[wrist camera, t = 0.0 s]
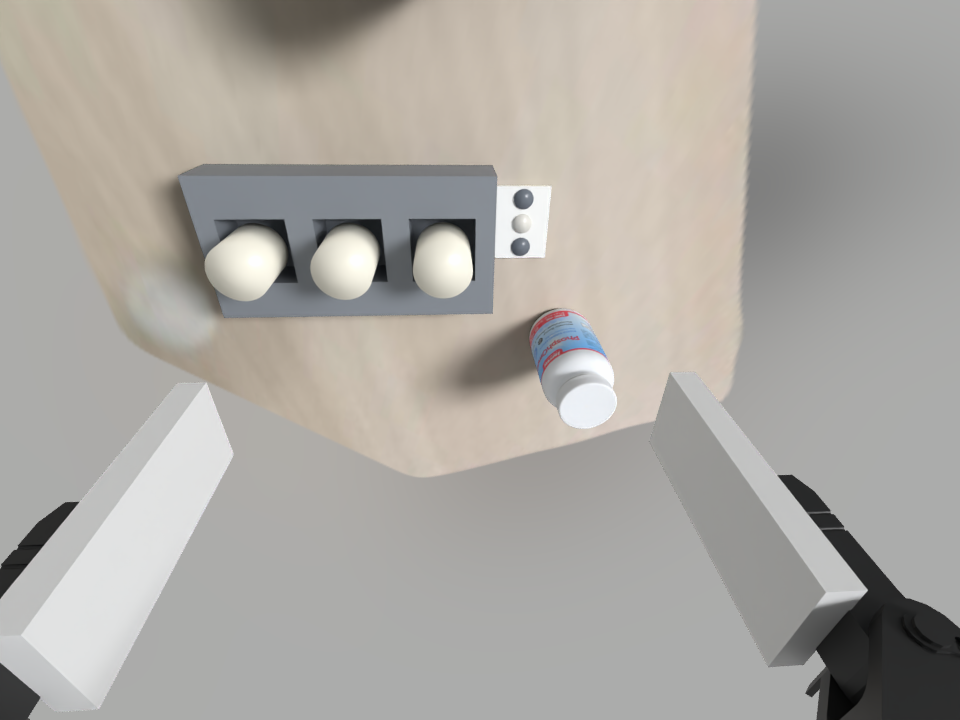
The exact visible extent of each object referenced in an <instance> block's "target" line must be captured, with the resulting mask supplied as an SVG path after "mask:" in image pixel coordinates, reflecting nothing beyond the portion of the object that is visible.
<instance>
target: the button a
mask: <svg viewBox="0 0 960 720" xmlns="http://www.w3.org/2000/svg"><path fill="white" fill-rule="evenodd" d="M287 262H288V249H287V246H286V243H285V242H284V240H283V239H282V237H281V236H280V235H279V234H278V233H277V232H276V231H275V230H273V229H272V228H270V227H268V226H266V225H263V224H259V223H247V224H244V225H241V226H240V227H238V228H237V229H236V230H235V231H233V232H232V233H231V234H230V235H228V236H227V237H226V238H225V239H224V240H222V241H221V242H220V243H219V244H218V245H216V246H215V247H214V248H213V249H212V250H211V251H210V252H209V253H208V254H207V256H206V259H205V272H206V275H207V278H208V279H209V281H210V283H211V284H212V285H213V286H214V287H215V288H216V289H217V290H218V291H219V292H220V293H222V294H223V295H225V296H227V297H229V298H231V299H234V300H238V301H252V300H256V299H258V298H260V297H261V296H263V295H264V294H265V293H266V291H267V290H268V289H269V287H270V286H271V285H272V283H273V282H274V281H275V280H276V278H277V277H278V276H279V274H280V273H281V272H282V270H283V269H284V268H285V266H286V264H287Z"/></svg>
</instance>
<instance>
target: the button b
mask: <svg viewBox="0 0 960 720" xmlns="http://www.w3.org/2000/svg"><path fill="white" fill-rule="evenodd" d="M379 258H380V246H379V243H378V241H377V239H376V237H375V236H374V234H373V233H372V232H371V231H370V230H368V229H367V228H366V227H364V226H362V225H360V224H356V223H342V224H339V225H337V226H335V227H334V228H332V229H331V230H330V231H329V233H328V234H327V236H326V237H325V239H324V240H323V242H322V243H321V245H320V246H319V248H318V249H317V251H316V252H315V254H314V256H313V257H312V260H311V265H310V270H311V275H312V278H313V280H314V282H315V284H316V285H317V286H318V288H319V289H320V290H322V291H323V292H324V293H325V294H327V295H329V296H331V297H333V298H336V299H341V300H350V299H355V298H358V297H360V296H361V295H363V294H364V293H365V292H366V291H367V290H368V289H369V287H370V285H371V283H372V280H373V276H374V273H375V270H376V267H377V264H378V261H379Z"/></svg>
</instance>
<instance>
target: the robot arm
mask: <svg viewBox="0 0 960 720" xmlns="http://www.w3.org/2000/svg"><path fill="white" fill-rule="evenodd" d="M649 442H650V444H651V446H652V448H653V450H654V452H655V454H656V456H657V458H658V459H659V461H660V463H661V465H662V467H663V469H664V471H665V473H666V475H667V476H668V478H669V480H670V482H671V484H672V486H673V488H674V490H675V492H676V494H677V495H678V497H679V499H680V501H681V503H682V505H683V507H684V509H685V511H686V512H687V514H688V516H689V518H690V520H691V522H692V524H693V526H694V527H695V529H696V531H697V533H698V535H699V537H700V539H701V541H702V542H703V544H704V546H705V548H706V550H707V552H708V554H709V556H710V558H711V560H712V562H713V564H714V565H715V567H716V569H717V571H718V573H719V575H720V577H721V579H722V581H723V582H724V584H725V586H726V588H727V590H728V592H729V594H730V596H731V598H732V600H733V601H734V603H735V605H736V607H737V609H738V611H739V613H740V614H741V616H742V619H743V620H744V622H745V624H746V626H747V628H748V630H749V632H750V634H751V635H752V637H753V639H754V641H755V643H756V645H757V647H758V649H759V650H760V653H761V654H762V656H763V658H764V660H765V662H766V664H767V666H768V667H776V666H792V665H804V664H805V662H806V661H807V660H808V659H809V658H810V657H811V656H812V654H813V653H814V652H815V651H816V650H817V652H818V654H819V655H820V657H821V658H822V660H823V662H824V663H825V665H826V667H825V669H824V670H823V671H822V672H821V673H820V674H819V675H818V676H817V677H816V678H815V679H814V680H813V681H812V683H811V684H810V685H809V687H808V689H807V691H806V694H807V695H809V696H811V697H812V696H813V695H814V694H815V693H816V692H817V691H818V690H819V689H820V692H819V701H818V712H817V720H960V628H959V627H958V626H956V625H955V624H954V623H953V622H952V621H950V620H949V619H948V618H947V617H946V616H945V615H943V614H941V613H940V612H938V611H936V610H935V609H933V608H931V607H929V606H928V605H926V604H923V603H920V602H917V601H914V600H912V599H906V598H905V597H904V596H903V595H902V594H901V593H900V592H899V591H898V590H897V588H896V587H895V586H894V585H893V584H892V582H891V581H890V580H889V579H888V578H887V577H886V575H885V574H884V573H883V572H882V571H881V570H880V568H879V567H878V566H877V565H876V564H875V562H874V561H873V560H872V559H871V558H870V557H869V555H868V554H867V553H866V552H865V551H864V549H863V548H862V547H861V546H860V545H859V544H858V542H857V541H856V540H855V539H854V538H853V536H852V535H851V534H850V533H849V532H848V531H845V530H844V526H843V525H842V524H841V522H840V521H839V520H838V519H837V518H836V516H835V515H834V514H831V513H830V509H829V508H828V507H827V506H826V505H825V503H824V502H823V501H822V500H821V499H820V498H819V496H818V495H817V494H816V493H815V492H814V491H813V490H812V489H810V488H809V487H808V486H806V485H805V484H803V483H802V482H801V481H800V480H798V479H797V478H795V477H794V476H793V475H776V473H775V472H774V471H773V470H772V468H771V467H770V466H769V464H768V463H767V462H766V461H765V459H764V458H763V457H762V456H761V454H760V453H759V452H758V451H757V449H756V448H755V447H754V445H753V444H752V443H751V442H750V441H749V439H748V438H747V437H746V435H745V434H744V433H743V432H742V430H741V429H740V428H739V427H738V425H737V424H736V423H735V421H734V420H733V419H732V418H731V417H730V415H729V414H728V413H727V411H726V410H725V409H724V408H723V406H722V405H721V404H720V402H719V401H718V400H717V399H716V397H715V396H714V395H713V394H712V392H711V391H710V390H709V389H708V387H707V386H706V385H705V384H704V382H703V381H702V380H701V378H700V377H699V376H698V375H697V373H696V372H670V374H669V377H668V381H667V384H666V387H665V391H664V394H663V397H662V401H661V404H660V407H659V411H658V414H657V417H656V421H655V424H654V427H653V431H652V434H651V438H650V441H649ZM233 455H234V454H233V451H232V448H231V446H230V443H229V440H228V438H227V435H226V433H225V430H224V427H223V425H222V422H221V420H220V417H219V414H218V412H217V409H216V407H215V404H214V401H213V399H212V396H211V394H210V391H209V388H208V386H207V383H206V382H199V383H198V382H197V383H196V382H194V383H177V384H176V385H175V387H174V388H173V389H172V390H171V391H170V392H169V394H168V395H167V396H166V397H165V399H164V400H163V401H162V402H161V403H160V405H159V406H158V407H157V408H156V409H155V411H154V412H153V413H152V414H151V416H150V417H149V418H148V419H147V421H146V422H145V423H144V424H143V425H142V427H141V428H140V429H139V430H138V431H137V433H136V434H135V435H134V436H133V438H132V439H131V440H130V441H129V443H128V444H127V445H126V446H125V448H124V449H123V450H122V451H121V452H120V453H119V455H118V456H117V457H116V458H115V460H114V461H113V462H112V463H111V465H110V466H109V467H108V468H107V469H106V471H105V472H104V473H103V474H102V475H101V477H100V478H99V479H98V480H97V481H96V483H95V484H94V485H93V486H92V488H91V489H90V490H89V491H88V492H87V494H86V495H85V496H84V497H83V499H82V500H81V501H80V502H65V503H64V504H62V505H61V506H60V507H58V508H57V509H56V510H54V511H53V512H52V513H50V514H49V515H48V516H46V517H45V518H43V519H42V520H41V521H39V522H38V523H37V524H36V525H35V527H34V528H33V529H32V530H31V531H30V532H29V533H28V535H27V536H26V537H25V538H24V539H23V540H22V542H21V543H20V544H19V545H18V549H17V550H14V551H13V552H12V553H11V554H10V555H9V556H8V558H7V559H6V560H5V561H4V562H3V563H2V564H1V566H2V567H1V569H0V720H30V719H28V717H29V715H30V713H31V712H32V710H33V708H34V707H35V705H36V704H37V702H38V701H39V699H41V700H42V701H43V702H44V703H46V704H47V705H48V706H49V707H50V708H52V709H53V710H54V711H55V712H65V711H80V710H96V709H99V708H100V706H101V704H102V702H103V700H104V698H105V697H106V695H107V693H108V691H109V689H110V687H111V685H112V683H113V682H114V680H115V678H116V676H117V674H118V672H119V670H120V668H121V666H122V665H123V663H124V661H125V659H126V657H127V655H128V653H129V651H130V649H131V648H132V646H133V644H134V642H135V640H136V638H137V636H138V634H139V632H140V630H141V629H142V626H143V625H144V623H145V621H146V619H147V617H148V616H149V614H150V612H151V610H152V608H153V606H154V604H155V602H156V600H157V599H158V597H159V595H160V593H161V591H162V589H163V587H164V585H165V583H166V581H167V580H168V578H169V576H170V574H171V572H172V570H173V568H174V567H175V565H176V563H177V561H178V559H179V557H180V555H181V553H182V551H183V550H184V548H185V546H186V544H187V542H188V540H189V538H190V536H191V534H192V532H193V531H194V529H195V527H196V525H197V523H198V521H199V519H200V518H201V516H202V514H203V512H204V510H205V508H206V506H207V504H208V502H209V501H210V499H211V497H212V495H213V493H214V491H215V489H216V487H217V485H218V483H219V482H220V480H221V478H222V476H223V474H224V472H225V470H226V468H227V467H228V465H229V463H230V461H231V459H232V457H233Z"/></svg>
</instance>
